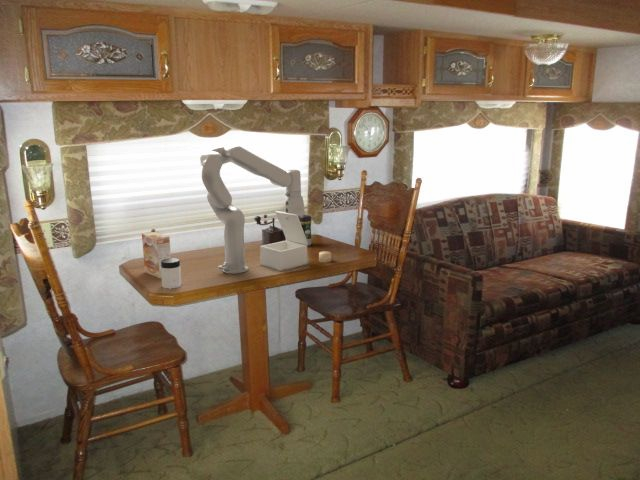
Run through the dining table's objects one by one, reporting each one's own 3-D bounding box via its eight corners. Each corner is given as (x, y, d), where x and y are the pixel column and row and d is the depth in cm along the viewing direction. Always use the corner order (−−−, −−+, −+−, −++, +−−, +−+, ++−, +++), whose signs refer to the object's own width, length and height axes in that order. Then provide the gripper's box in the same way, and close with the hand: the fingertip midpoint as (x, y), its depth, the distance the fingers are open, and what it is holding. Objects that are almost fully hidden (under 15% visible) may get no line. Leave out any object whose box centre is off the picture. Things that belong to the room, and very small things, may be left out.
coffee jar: (293, 244, 320) (293, 213, 316) (304, 242, 325) (304, 212, 321) (302, 247, 313) (302, 216, 308) (313, 245, 317) (313, 214, 313)
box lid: (295, 215, 267) (297, 214, 268) (275, 211, 278) (276, 210, 279) (307, 246, 276) (309, 245, 277) (287, 241, 287) (288, 240, 288)
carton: (280, 271, 266) (280, 251, 263) (260, 264, 277) (259, 246, 275) (307, 264, 278) (307, 245, 276) (286, 258, 289) (286, 240, 287)
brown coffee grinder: (276, 242, 326) (275, 213, 322) (286, 245, 318) (285, 215, 314) (253, 246, 317) (252, 216, 313) (263, 249, 309) (262, 218, 305)
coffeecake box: (144, 272, 265) (141, 233, 261) (157, 269, 270) (154, 231, 265) (159, 278, 255) (156, 238, 250) (172, 275, 260) (170, 236, 255)
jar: (165, 290, 238) (163, 264, 235) (159, 285, 244) (157, 260, 242) (184, 286, 243) (183, 260, 240) (178, 282, 249) (176, 257, 247)
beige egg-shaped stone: (325, 263, 280) (325, 255, 279) (316, 261, 284) (316, 252, 283) (333, 261, 284) (333, 252, 283) (325, 258, 289) (325, 250, 288)
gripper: (287, 196, 267) (289, 232, 271) (309, 193, 277) (310, 227, 281) (277, 195, 272) (279, 230, 276) (299, 191, 282) (300, 226, 287)
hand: (295, 229), depth 279 cm, fingers closed
